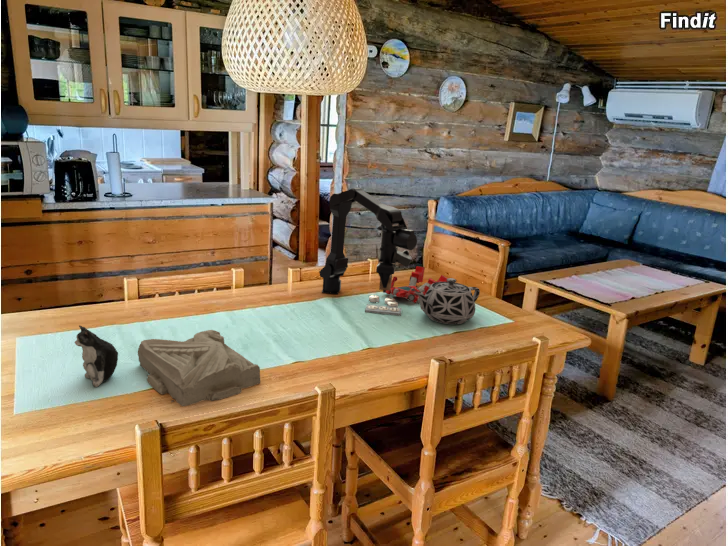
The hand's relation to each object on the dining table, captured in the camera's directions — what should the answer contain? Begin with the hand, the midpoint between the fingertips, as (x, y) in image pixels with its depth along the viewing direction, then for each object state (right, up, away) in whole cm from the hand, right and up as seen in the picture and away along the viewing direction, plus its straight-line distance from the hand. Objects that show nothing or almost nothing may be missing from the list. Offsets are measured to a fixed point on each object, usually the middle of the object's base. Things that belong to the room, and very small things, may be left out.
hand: (385, 285), depth 203 cm
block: (0, -1, 0) cm, 1 cm away
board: (-1, -9, +3) cm, 10 cm away
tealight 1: (-4, -6, +13) cm, 15 cm away
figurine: (-76, -22, -60) cm, 99 cm away
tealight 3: (+3, -8, +8) cm, 12 cm away
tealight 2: (+2, -7, +11) cm, 13 cm away
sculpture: (-52, -23, -54) cm, 78 cm away
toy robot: (+13, -4, +24) cm, 28 cm away
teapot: (+22, -12, -1) cm, 25 cm away
